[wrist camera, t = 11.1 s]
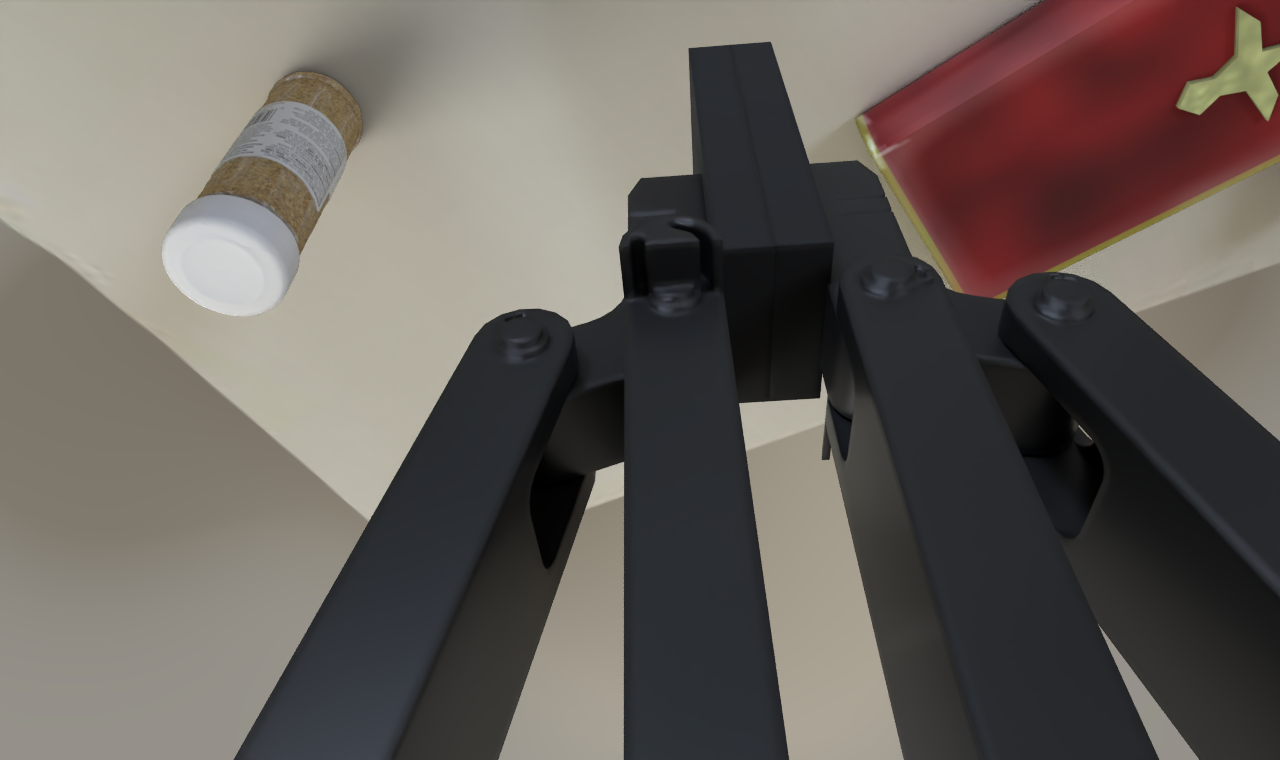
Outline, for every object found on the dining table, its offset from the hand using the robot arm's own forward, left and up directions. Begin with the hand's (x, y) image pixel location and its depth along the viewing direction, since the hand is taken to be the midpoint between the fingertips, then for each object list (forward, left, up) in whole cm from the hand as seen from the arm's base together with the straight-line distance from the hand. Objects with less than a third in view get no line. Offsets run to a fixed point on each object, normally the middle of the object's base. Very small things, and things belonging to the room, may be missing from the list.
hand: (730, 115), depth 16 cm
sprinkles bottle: (-18, -10, -25) cm, 32 cm away
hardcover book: (+20, -12, -25) cm, 34 cm away
